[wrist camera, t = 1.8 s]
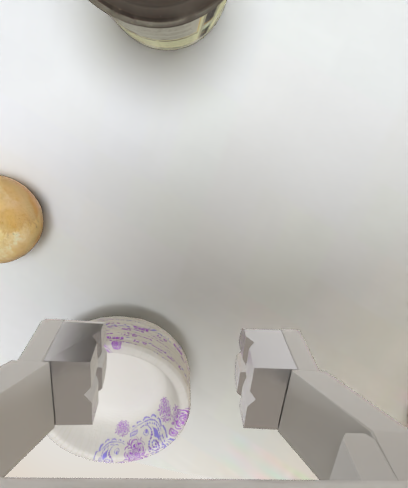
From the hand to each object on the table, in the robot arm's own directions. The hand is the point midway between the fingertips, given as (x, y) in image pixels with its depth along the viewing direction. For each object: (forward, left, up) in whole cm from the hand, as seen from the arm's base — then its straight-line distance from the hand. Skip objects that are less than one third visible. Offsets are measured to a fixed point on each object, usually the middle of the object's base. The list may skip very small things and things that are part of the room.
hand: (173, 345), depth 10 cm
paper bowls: (+5, +23, -27) cm, 36 cm away
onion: (+16, +6, -27) cm, 32 cm away
